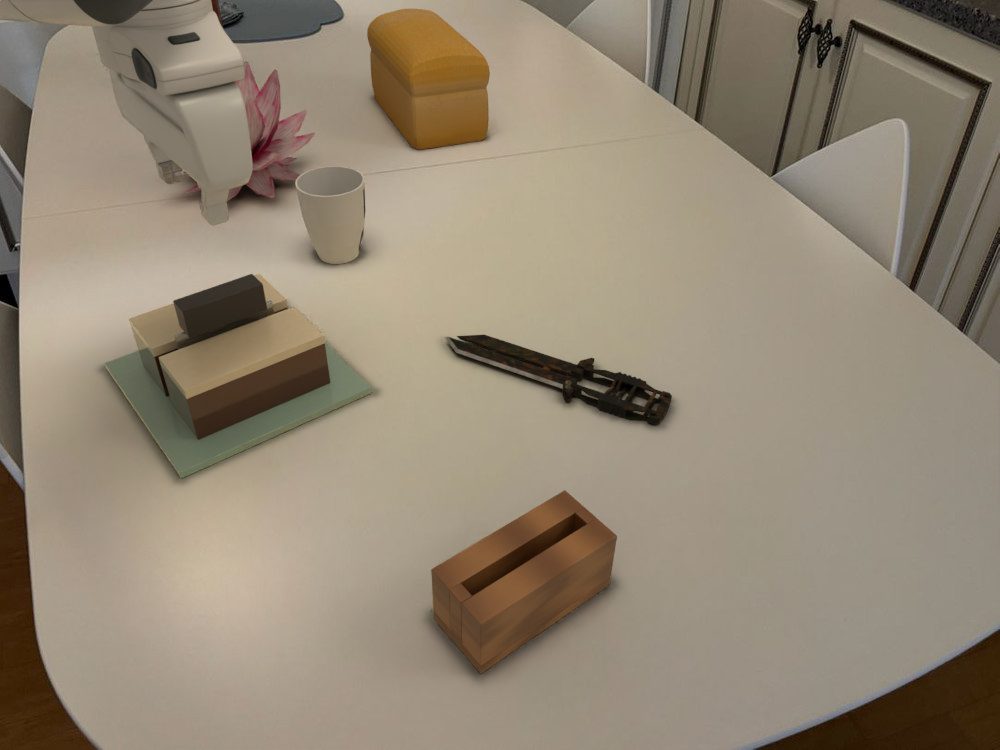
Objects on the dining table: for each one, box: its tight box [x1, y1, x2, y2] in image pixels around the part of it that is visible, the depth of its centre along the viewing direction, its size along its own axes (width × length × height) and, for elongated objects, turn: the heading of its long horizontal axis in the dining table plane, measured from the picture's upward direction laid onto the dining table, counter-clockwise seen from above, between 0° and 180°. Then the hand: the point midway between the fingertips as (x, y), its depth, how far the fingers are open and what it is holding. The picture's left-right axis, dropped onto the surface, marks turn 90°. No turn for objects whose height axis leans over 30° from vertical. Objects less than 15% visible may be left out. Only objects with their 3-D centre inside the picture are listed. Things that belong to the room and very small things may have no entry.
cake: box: [104, 273, 373, 479], centre depth 86 cm, size 20×20×7 cm
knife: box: [444, 334, 673, 425], centre depth 89 cm, size 25×6×1 cm, turn 57°
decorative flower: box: [183, 61, 316, 202], centre depth 118 cm, size 21×21×15 cm
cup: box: [294, 165, 366, 265], centre depth 105 cm, size 8×8×10 cm
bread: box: [366, 8, 491, 150], centre depth 138 cm, size 24×13×15 cm, turn 22°
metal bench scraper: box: [172, 273, 274, 350], centre depth 84 cm, size 10×2×10 cm, turn 128°
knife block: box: [430, 490, 618, 674], centre depth 65 cm, size 13×6×6 cm, turn 128°
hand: (193, 199), depth 74 cm, fingers open, 8 cm apart
